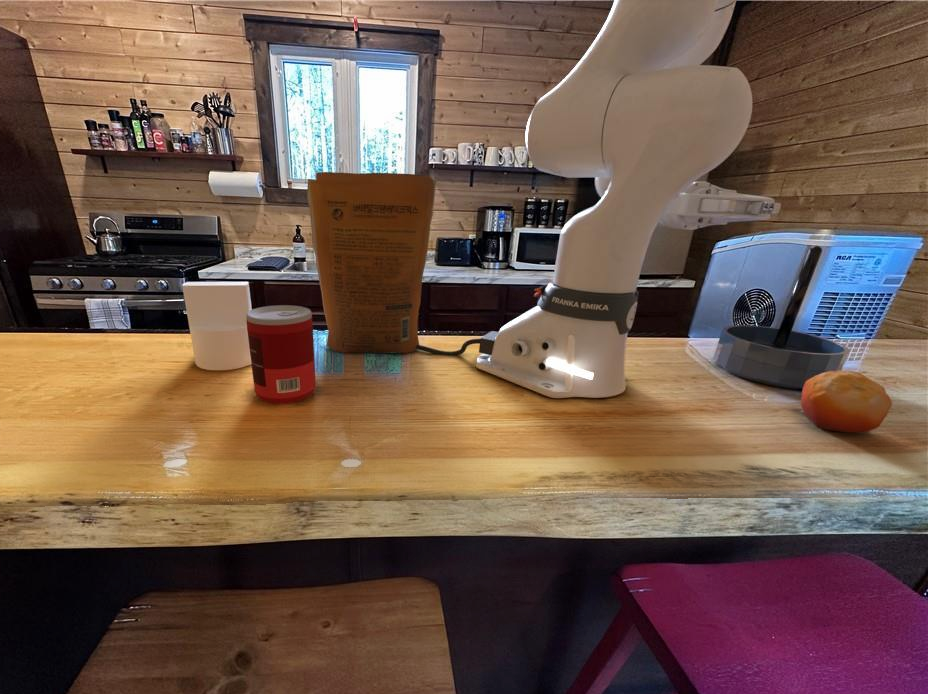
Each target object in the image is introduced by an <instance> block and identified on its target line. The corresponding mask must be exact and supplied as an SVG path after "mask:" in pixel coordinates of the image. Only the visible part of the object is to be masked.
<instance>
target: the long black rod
mask: <svg viewBox="0 0 928 694" xmlns="http://www.w3.org/2000/svg"><path fill="white" fill-rule="evenodd" d="M822 253H823V248H822V247H821V246H820V245H813V246H811V247H810V248H808V250H807V253H806V255H805V258H804V260H803V264H802V266H801V269H800V271H799V274H798V277H797V278H796V279H797V280H796V283H795V285H794V287H793V291H792V293H791V295H790V298H789V301H788V304H787V307H786V308H785V312H784V314H783V316H782V319H781V322H780V325H779V327H778V328H779V330H778V333H777V336H776V338H775V341H774V344H773V346H772V347H774V348H780V349H785V346H786V344H787V341H788V339H789V336H790V333H791V331H793V328H794V325H795V323H796V320H797V318H798V315H799V313H800V310H801V307H802V305H803V302H804V301H805V298H806V294H807V292H808V289H809V287H810V285H811V281H812V278H813V277H814V273H815V271H816V268H817V267H818V264H819V260H820V259H821V256H822Z"/></svg>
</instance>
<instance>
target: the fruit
mask: <svg viewBox="0 0 928 694" xmlns="http://www.w3.org/2000/svg"><path fill="white" fill-rule="evenodd" d="M801 390H802V391H801V398H800V407H801V411H800V413H803V414H804V416H805V417H806V418H807V419H808V421H810V422H811V423H812V424H813V425H814V426H816V428H818V429H822V430H827V431H833V432H839V433H840V432H841V433H842V432H843V433H857V434H862V433H867V432H870V431H873V430H876V429H878V428H879V427H880V426H881V424H882V423H883V421H884V420H885V418H886V417H887V416H888V414H889V411H890V409H891V407H892V405H893V402H892V399H891V398H890V395H889V394H888V393H887V391H886V388H885V387H884V386H883V385H881V384H880V383H878V382H876V381H874V380H872V379H870V378H869V377H867V376H865V375H864V374H862V373H860V372H858V371H853V370H841V371H829V372H825V373H821V374H819V375H816V376H814V377H812V378H811V379H808V380H807V381H806V382H805V384H804V387H803V389H801Z"/></svg>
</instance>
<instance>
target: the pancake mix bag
mask: <svg viewBox="0 0 928 694" xmlns="http://www.w3.org/2000/svg"><path fill="white" fill-rule="evenodd" d="M436 188H437V180H435V179H434V178H432V177H430V176H429V175H426V174H425V175H424V174H414V173H394V172H364V173H355V172H354V173H353V172H332V171H321V172H315V179H312V178H307V189H306V190H307V203H308V208H309V217H310V228H311V237H312V238H311V239H312V248H313V252H314V256H315V266H316V270H317V277H318V281H319V287H320V288H319V289H320V291H321V292H320V293H321V299H322V300H321V301H322V307H323V313H324V316H325V322H326V326H327V332H328V333H327V337H326V338H327V339H326V345H325V347H327V348H328V349H331V350H332V351H335V352H338V353H344V354H348V353H349V354H355V353H359V354H401V355H404V354H409V353H413V352H415V351H418V349H417V348H416V346H417V345H420V341H419V340H420V339H419V334H418V319H419V311H420V306H421V300H422V285H423V278H424V277H423V276H424V271H425V267H426V262H427V257H428V252H429V244H430V236H431V235H430V233H431V224H432V221H433V215H434V207H435V199H436Z"/></svg>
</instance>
